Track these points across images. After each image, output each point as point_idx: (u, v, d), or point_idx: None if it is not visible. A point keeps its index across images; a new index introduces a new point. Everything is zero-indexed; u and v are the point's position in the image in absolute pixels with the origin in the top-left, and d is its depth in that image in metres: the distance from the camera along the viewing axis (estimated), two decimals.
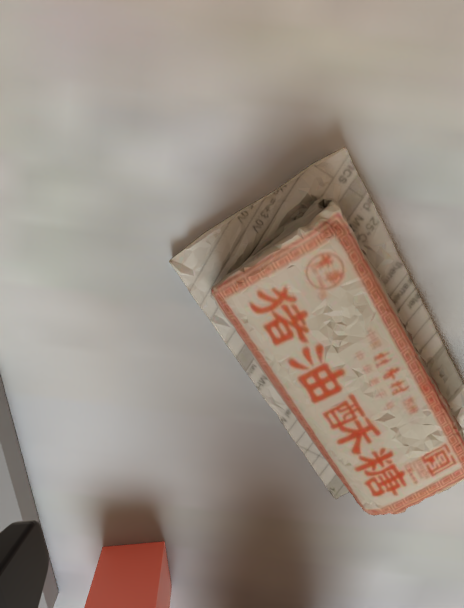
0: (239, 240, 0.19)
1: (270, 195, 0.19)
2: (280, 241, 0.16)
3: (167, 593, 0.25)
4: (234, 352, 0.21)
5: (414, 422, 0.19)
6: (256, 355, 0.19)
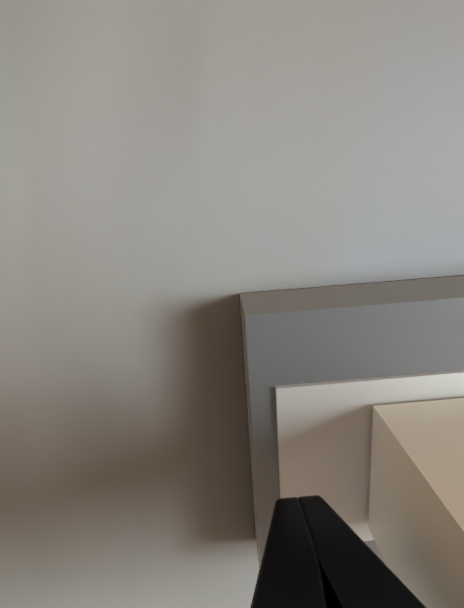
0: None
1: None
2: None
3: None
4: None
5: None
6: None
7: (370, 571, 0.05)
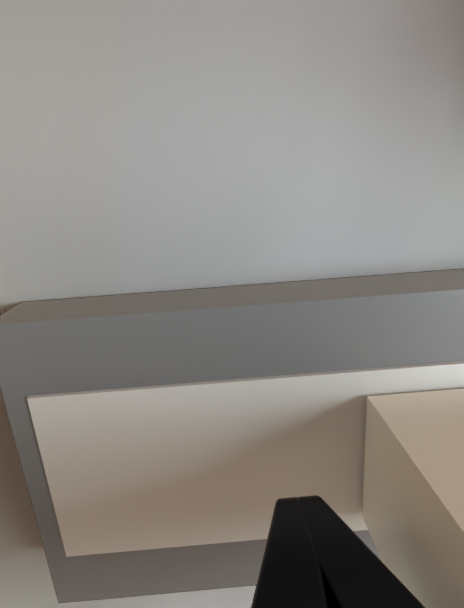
0: None
1: None
2: None
3: None
4: None
5: None
6: None
7: (369, 571, 0.05)
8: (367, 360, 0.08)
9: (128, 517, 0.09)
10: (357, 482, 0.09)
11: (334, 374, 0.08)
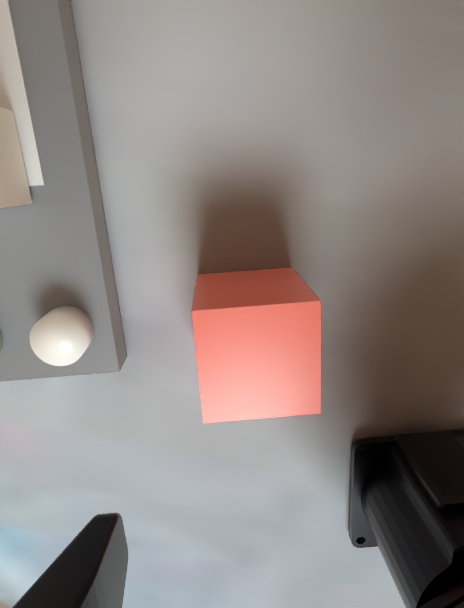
0: None
1: None
2: None
3: None
4: None
5: None
6: None
7: None
8: (36, 112, 0.13)
9: None
10: None
11: (24, 90, 0.13)
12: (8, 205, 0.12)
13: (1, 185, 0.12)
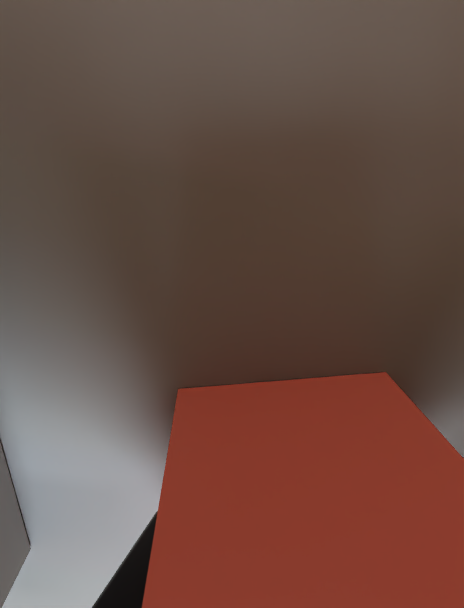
0: None
1: None
2: None
3: None
4: None
5: None
6: None
7: None
8: None
9: None
10: None
11: None
12: None
13: None
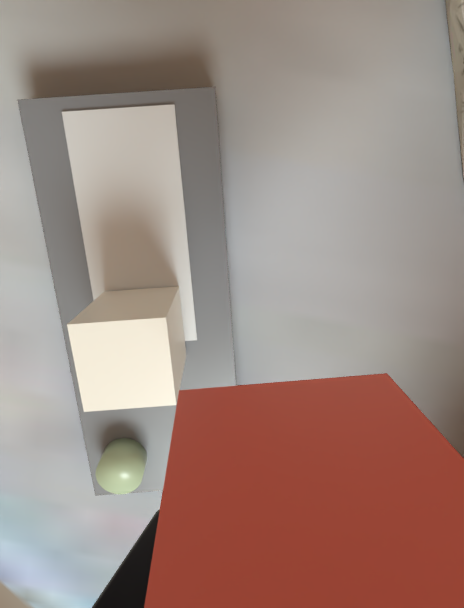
0: None
1: None
2: None
3: None
4: None
5: None
6: None
7: None
8: (196, 284, 0.16)
9: (94, 155, 0.15)
10: (125, 287, 0.16)
11: (188, 269, 0.16)
12: (182, 372, 0.15)
13: (180, 359, 0.15)
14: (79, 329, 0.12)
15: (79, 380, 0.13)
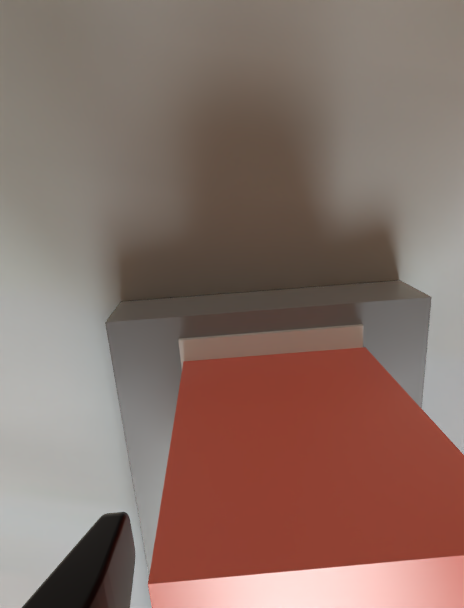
0: None
1: None
2: None
3: None
4: None
5: None
6: None
7: None
8: None
9: None
10: None
11: None
12: None
13: None
14: None
15: None
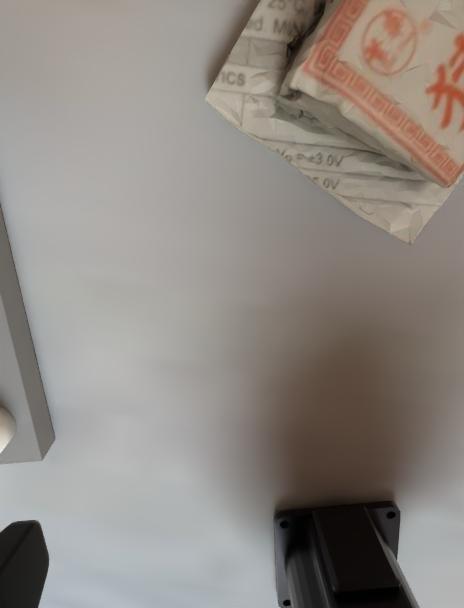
0: (359, 174, 0.15)
1: (295, 162, 0.15)
2: (367, 131, 0.12)
3: None
4: None
5: None
6: None
7: None
8: None
9: None
10: None
11: None
12: None
13: None
14: None
15: None
